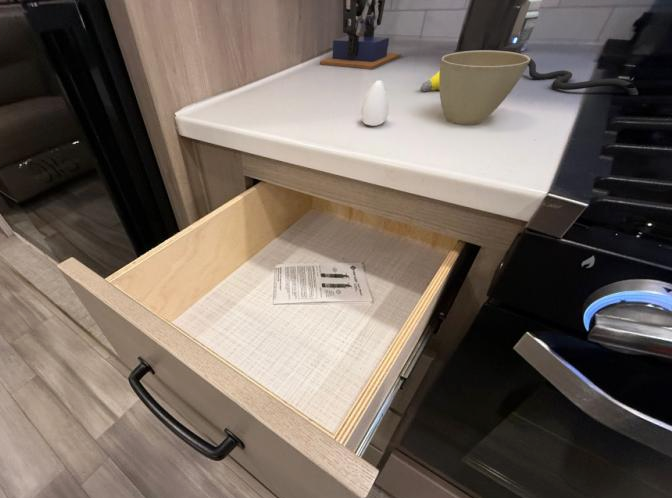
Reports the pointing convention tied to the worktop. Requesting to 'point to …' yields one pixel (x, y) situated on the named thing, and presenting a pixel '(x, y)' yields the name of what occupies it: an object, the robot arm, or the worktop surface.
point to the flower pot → (477, 83)
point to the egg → (375, 105)
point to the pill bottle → (529, 23)
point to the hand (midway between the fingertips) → (359, 53)
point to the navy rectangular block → (362, 48)
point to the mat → (360, 62)
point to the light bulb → (431, 83)
